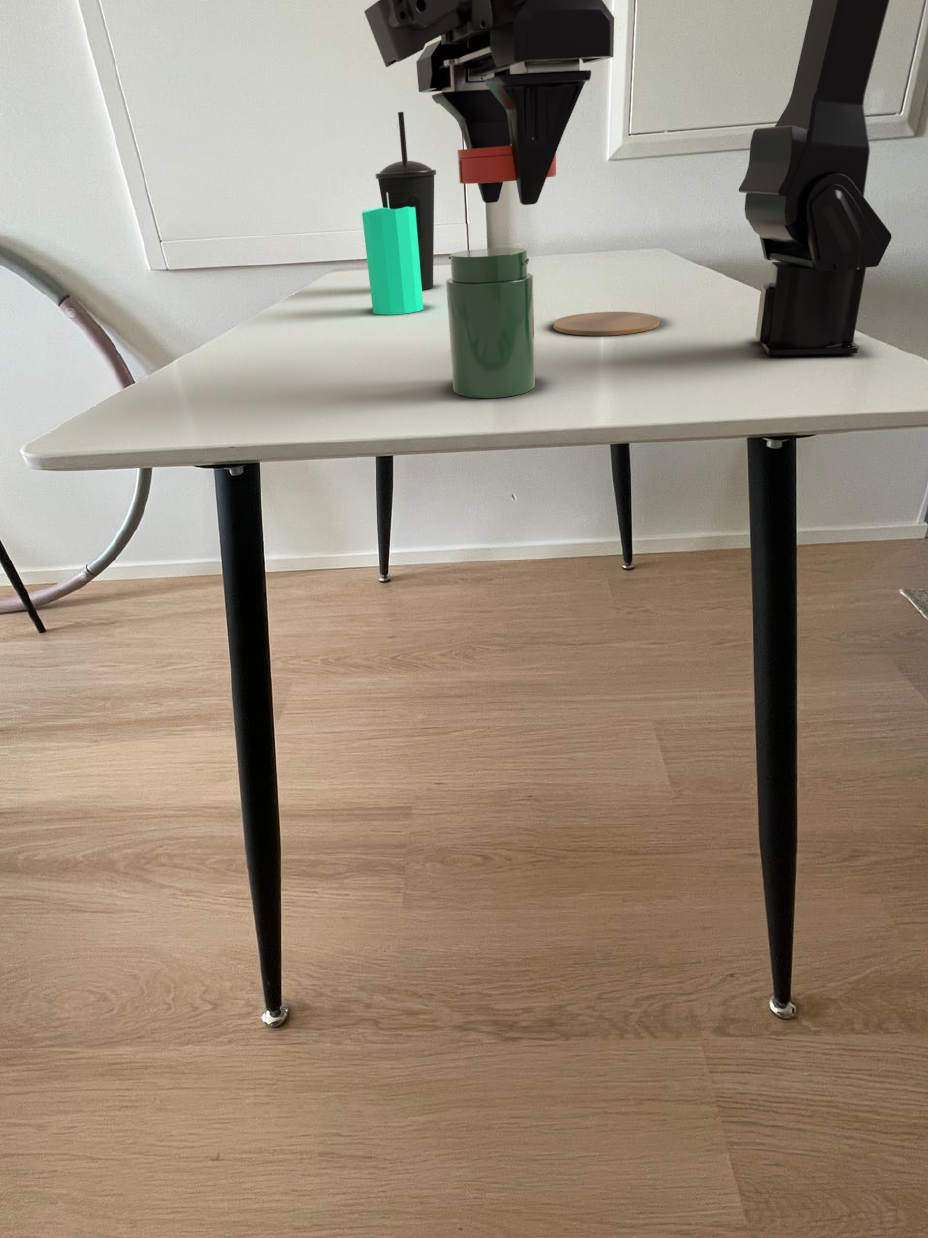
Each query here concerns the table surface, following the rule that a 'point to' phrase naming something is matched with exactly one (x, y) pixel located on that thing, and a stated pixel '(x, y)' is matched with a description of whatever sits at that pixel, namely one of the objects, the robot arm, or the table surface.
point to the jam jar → (491, 322)
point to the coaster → (606, 323)
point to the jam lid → (489, 165)
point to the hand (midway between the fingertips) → (508, 203)
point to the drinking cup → (412, 200)
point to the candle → (393, 260)
